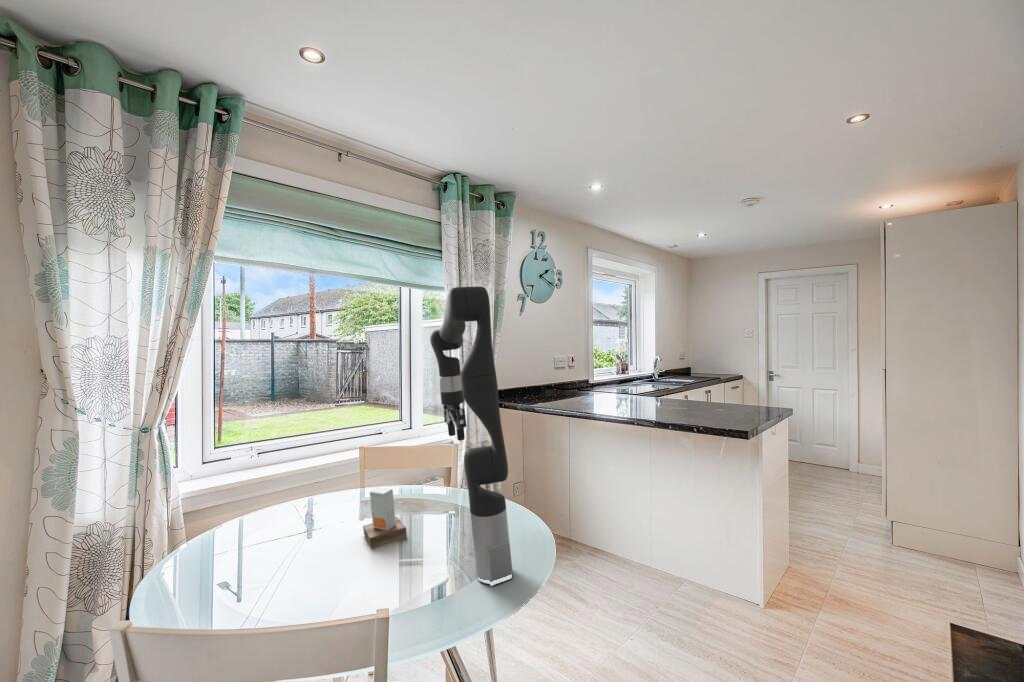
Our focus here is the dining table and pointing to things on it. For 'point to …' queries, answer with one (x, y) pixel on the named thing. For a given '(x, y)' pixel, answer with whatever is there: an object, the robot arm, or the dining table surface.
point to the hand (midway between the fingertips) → (456, 437)
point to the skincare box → (382, 508)
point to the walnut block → (384, 534)
